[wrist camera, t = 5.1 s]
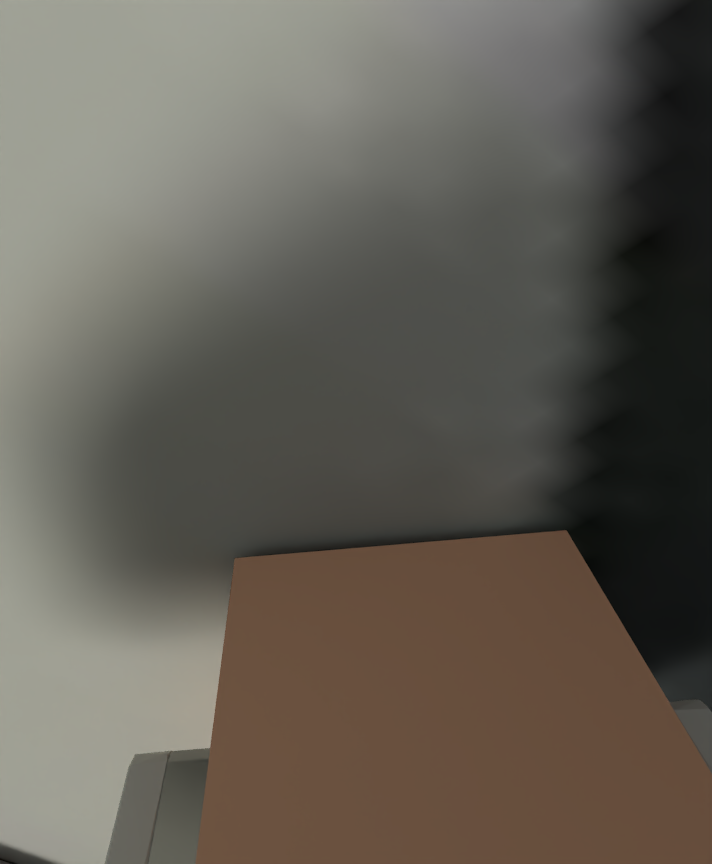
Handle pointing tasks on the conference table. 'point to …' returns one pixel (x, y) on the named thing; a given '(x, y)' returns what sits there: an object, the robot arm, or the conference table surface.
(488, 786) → the cube
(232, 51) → the conference table surface
